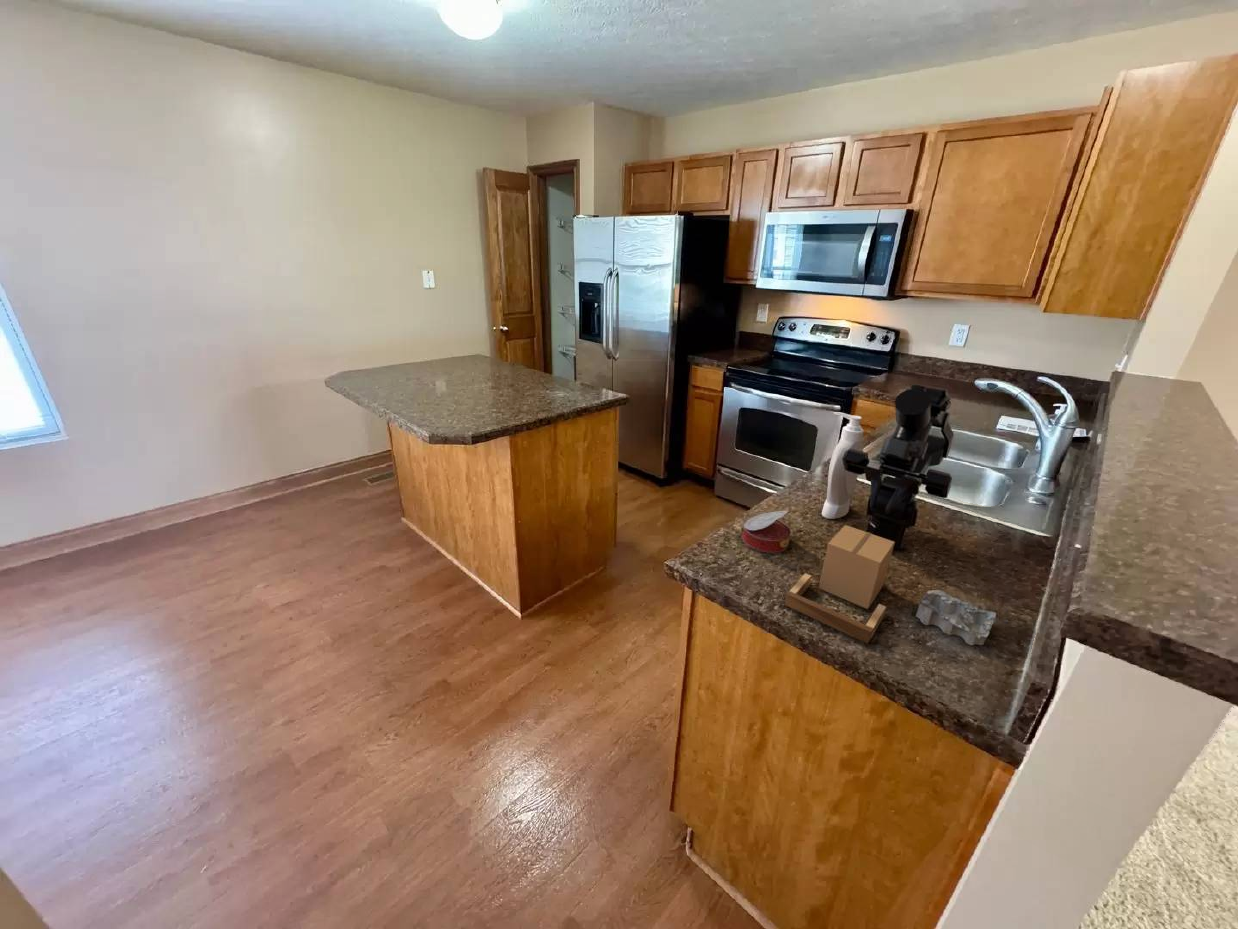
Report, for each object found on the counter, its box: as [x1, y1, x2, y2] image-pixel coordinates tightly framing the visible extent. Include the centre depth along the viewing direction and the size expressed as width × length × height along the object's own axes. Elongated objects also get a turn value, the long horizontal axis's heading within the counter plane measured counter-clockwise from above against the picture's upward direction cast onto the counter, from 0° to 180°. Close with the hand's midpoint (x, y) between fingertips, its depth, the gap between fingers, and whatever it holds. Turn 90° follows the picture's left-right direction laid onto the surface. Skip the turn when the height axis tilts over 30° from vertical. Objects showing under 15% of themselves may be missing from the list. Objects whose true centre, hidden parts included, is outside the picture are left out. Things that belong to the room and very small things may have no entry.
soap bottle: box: [821, 411, 865, 520], centre depth 121 cm, size 13×8×24 cm, turn 133°
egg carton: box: [915, 589, 997, 646], centre depth 88 cm, size 11×8×4 cm
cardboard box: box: [818, 524, 895, 610], centre depth 95 cm, size 9×9×10 cm
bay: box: [784, 573, 887, 645], centre depth 90 cm, size 8×14×2 cm, turn 49°
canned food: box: [741, 509, 791, 554], centre depth 111 cm, size 11×10×10 cm
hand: (878, 510), depth 97 cm, fingers closed
